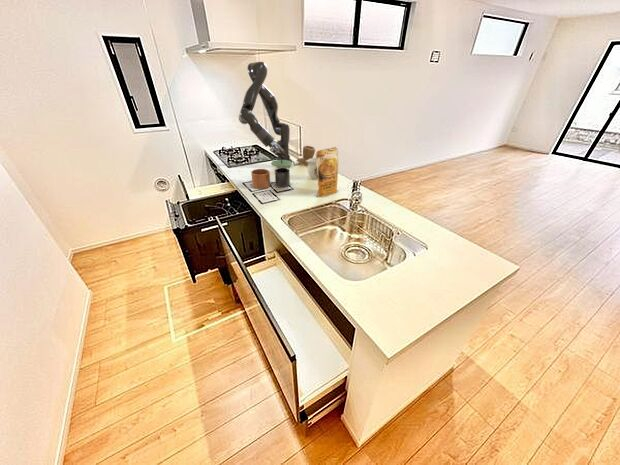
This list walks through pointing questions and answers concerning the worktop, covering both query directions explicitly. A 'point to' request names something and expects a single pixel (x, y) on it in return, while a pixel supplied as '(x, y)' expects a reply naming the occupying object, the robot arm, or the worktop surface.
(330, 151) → the pancake mix bag
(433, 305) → the worktop surface
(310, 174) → the pitcher
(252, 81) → the robot arm
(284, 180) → the cup
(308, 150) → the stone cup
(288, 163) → the lid
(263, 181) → the clay pot
